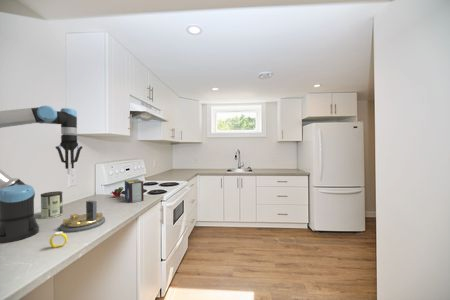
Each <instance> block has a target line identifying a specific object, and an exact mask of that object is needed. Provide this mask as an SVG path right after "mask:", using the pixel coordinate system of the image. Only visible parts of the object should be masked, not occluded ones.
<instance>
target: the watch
mask: <svg viewBox="0 0 450 300" xmlns="http://www.w3.org/2000/svg"><path fill="white" fill-rule="evenodd" d="M55 236H56V237H58V236H62V237H63V238H64V243H63V244H55V243H54V241H53V238H54V237H55ZM67 242H68V236H67V234H66V233H65V232H62V231H55V233H54V234H53V235H51V237H50V238H49V245H50V246H51V247H53V248H62V247H63V246H65V244H67Z"/></svg>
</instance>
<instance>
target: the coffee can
mask: <svg viewBox="0 0 450 300" xmlns="http://www.w3.org/2000/svg"><path fill="white" fill-rule="evenodd" d="M63 194H64V193H63V191H62V190H61V191H47V192H43V193H41V194H40V213H41V217H40V218H41V219H53V218H58V217H59V216H62V215H63V214H64V213H63V211H64V210H63Z"/></svg>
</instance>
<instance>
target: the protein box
mask: <svg viewBox="0 0 450 300" xmlns="http://www.w3.org/2000/svg"><path fill="white" fill-rule="evenodd" d="M144 194H145V193H144V181H143V180H140V179H139V178H138V179H130V180H129V179H128V180H127V179H126V180H124V200H125V199H126V202H128V203H129V204H131V203H140V202H143V201H144V197H145V196H144Z"/></svg>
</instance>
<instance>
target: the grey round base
mask: <svg viewBox="0 0 450 300" xmlns="http://www.w3.org/2000/svg"><path fill="white" fill-rule="evenodd" d="M105 222H106V217H105V216H102V219H101V220H100V221H99V222H97V223H94V224H91V225H87V226H83V227H74V228H69V227H65V226H64V223H63V222H62V223H61V224H60V225H59V232H63V233H77V232H78V233H79V232H83V231H84V232H85V231H88V230H89V231H90V230H92V229H95V228H98V227H100V226H102V225H103V224H105Z"/></svg>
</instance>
